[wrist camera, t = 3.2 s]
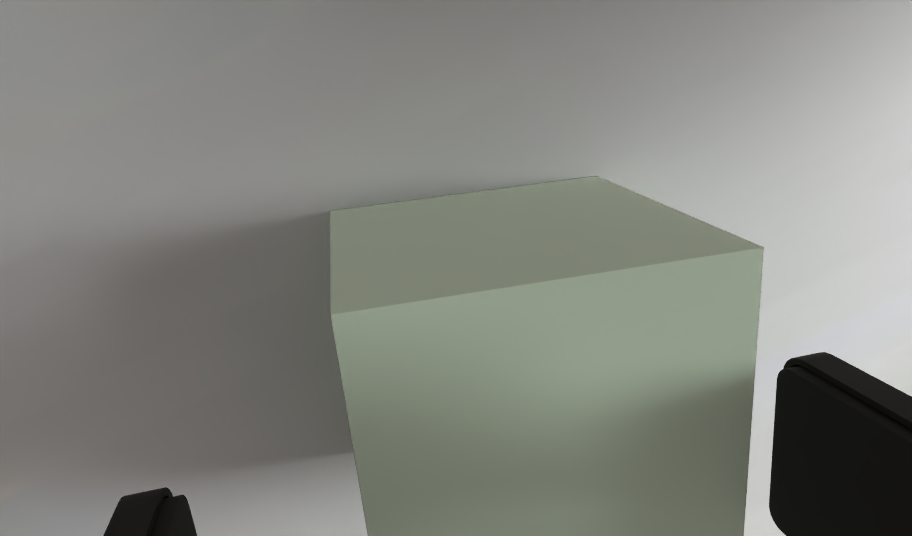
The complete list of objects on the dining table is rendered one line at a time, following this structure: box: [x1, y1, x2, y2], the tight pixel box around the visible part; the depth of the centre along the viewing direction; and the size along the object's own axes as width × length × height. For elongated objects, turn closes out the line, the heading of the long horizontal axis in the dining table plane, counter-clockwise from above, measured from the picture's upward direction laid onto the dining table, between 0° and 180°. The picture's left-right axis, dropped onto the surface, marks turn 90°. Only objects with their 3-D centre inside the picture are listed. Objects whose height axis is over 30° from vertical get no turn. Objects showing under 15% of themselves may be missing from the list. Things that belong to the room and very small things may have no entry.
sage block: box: [330, 176, 764, 536], centre depth 12 cm, size 6×6×6 cm
